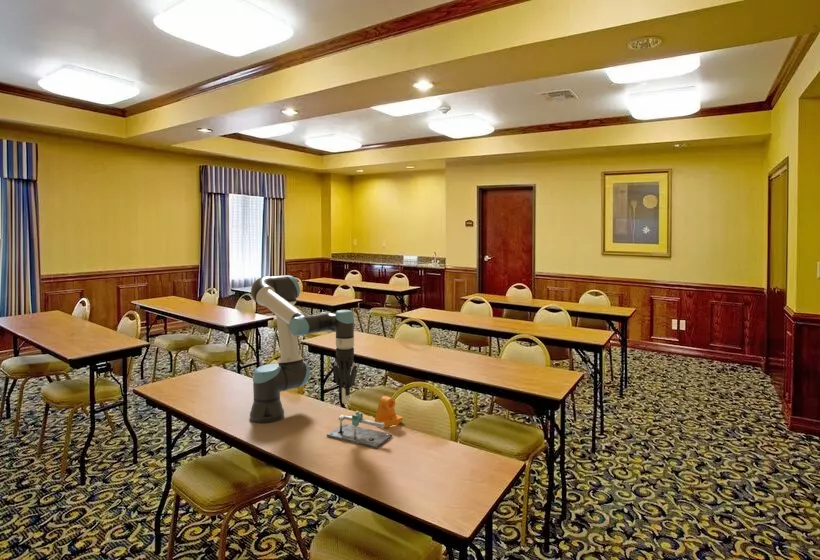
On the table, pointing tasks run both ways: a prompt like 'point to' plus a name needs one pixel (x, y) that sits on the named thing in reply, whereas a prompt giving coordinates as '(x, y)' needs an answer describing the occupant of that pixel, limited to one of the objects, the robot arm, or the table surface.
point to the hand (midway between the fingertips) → (345, 402)
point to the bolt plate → (360, 436)
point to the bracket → (387, 412)
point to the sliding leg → (356, 419)
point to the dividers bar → (360, 422)
